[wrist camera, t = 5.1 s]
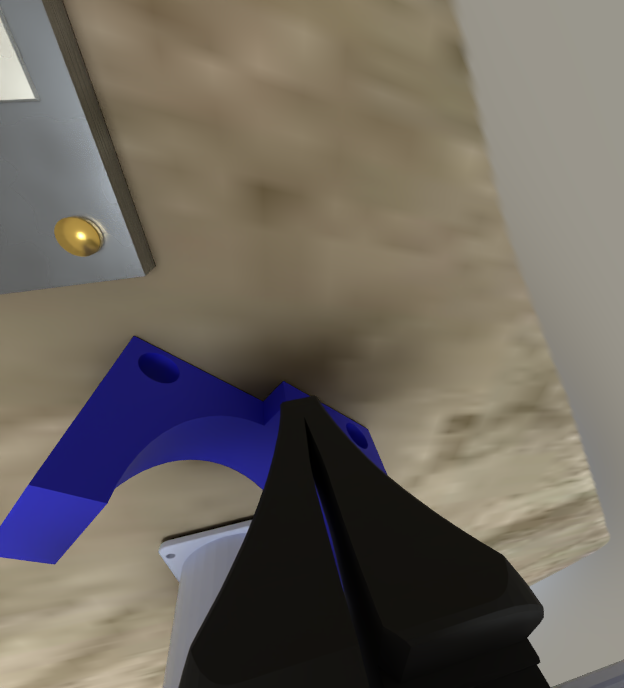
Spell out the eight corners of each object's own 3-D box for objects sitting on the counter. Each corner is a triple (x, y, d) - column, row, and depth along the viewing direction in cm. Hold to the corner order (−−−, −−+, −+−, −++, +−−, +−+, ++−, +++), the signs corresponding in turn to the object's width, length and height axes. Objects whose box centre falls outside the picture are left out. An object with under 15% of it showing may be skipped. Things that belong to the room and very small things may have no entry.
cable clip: (367, 429, 16) (419, 552, 11) (313, 474, 17) (337, 602, 12) (153, 307, 10) (57, 440, 5) (98, 387, 12) (-19, 554, 7)
